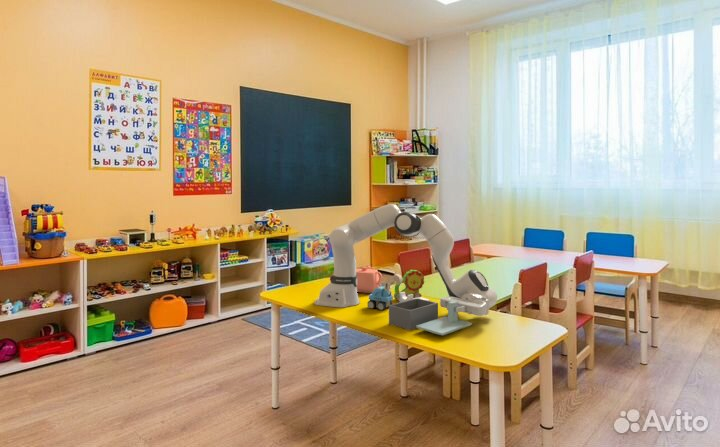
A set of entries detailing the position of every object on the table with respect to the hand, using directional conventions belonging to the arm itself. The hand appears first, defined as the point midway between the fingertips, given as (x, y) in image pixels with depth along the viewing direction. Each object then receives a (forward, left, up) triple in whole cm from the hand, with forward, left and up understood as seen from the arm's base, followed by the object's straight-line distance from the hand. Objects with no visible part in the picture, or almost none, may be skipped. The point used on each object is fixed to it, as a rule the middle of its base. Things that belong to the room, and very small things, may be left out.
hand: (451, 309), depth 185 cm
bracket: (-17, +31, -9) cm, 36 cm away
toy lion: (-21, +46, -8) cm, 51 cm away
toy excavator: (-31, +26, -8) cm, 41 cm away
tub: (-16, +6, -8) cm, 19 cm away
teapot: (-47, +63, -8) cm, 79 cm away
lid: (-3, -4, -6) cm, 8 cm away
